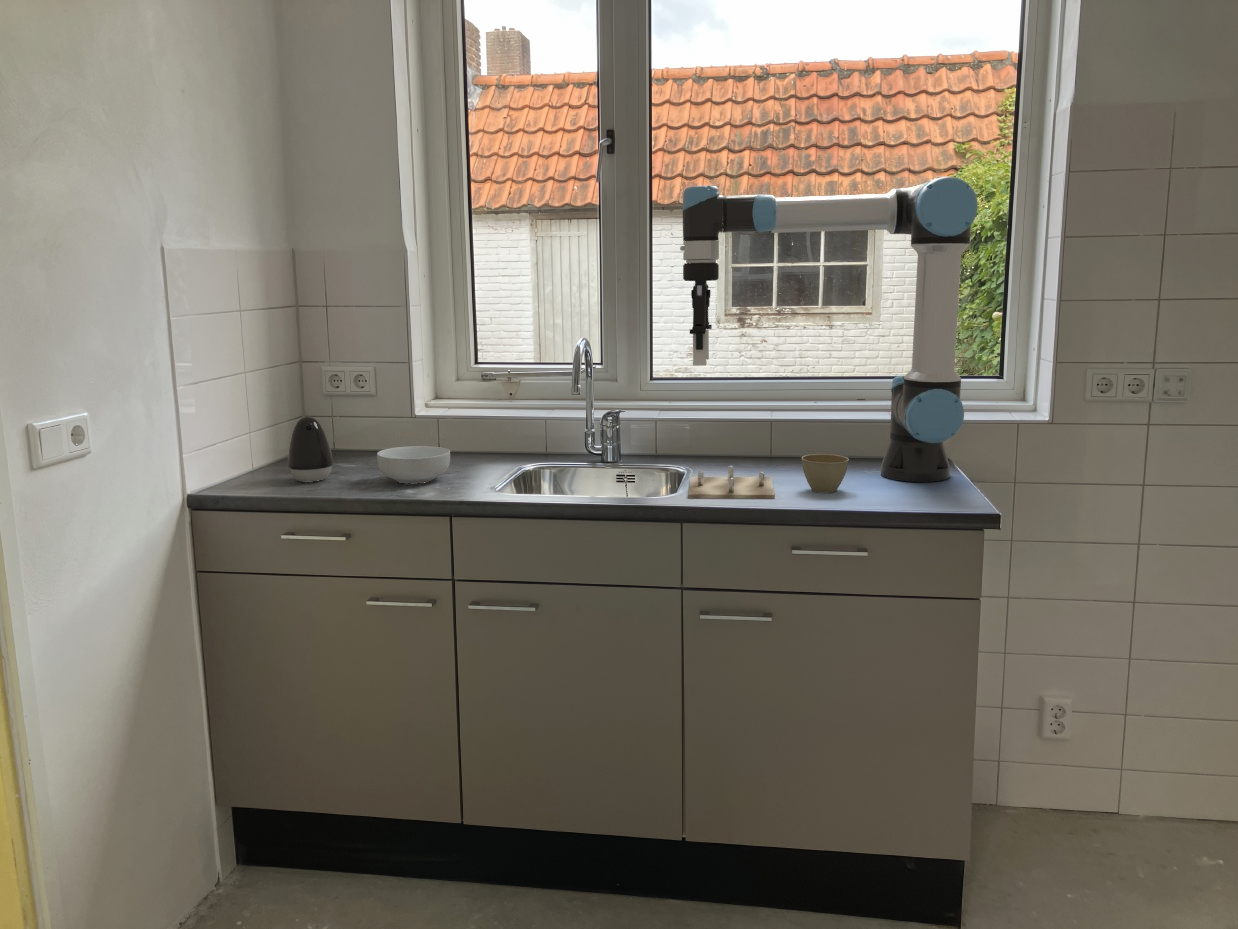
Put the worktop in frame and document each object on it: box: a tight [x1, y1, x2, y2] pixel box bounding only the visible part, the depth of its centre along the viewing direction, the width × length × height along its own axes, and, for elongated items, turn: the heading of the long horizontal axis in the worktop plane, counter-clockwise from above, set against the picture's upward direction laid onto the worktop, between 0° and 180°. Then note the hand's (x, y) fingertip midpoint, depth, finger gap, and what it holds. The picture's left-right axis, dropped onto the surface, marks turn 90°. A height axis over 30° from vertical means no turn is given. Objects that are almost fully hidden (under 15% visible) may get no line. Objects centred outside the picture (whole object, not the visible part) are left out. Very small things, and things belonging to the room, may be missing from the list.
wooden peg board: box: [687, 465, 776, 500], centre depth 219 cm, size 18×18×4 cm
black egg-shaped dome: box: [287, 416, 334, 482], centre depth 235 cm, size 10×10×15 cm
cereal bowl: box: [376, 445, 451, 484], centre depth 233 cm, size 17×17×7 cm
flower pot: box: [801, 453, 850, 494], centre depth 216 cm, size 10×10×7 cm
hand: (701, 362), depth 216 cm, fingers open, 13 cm apart
